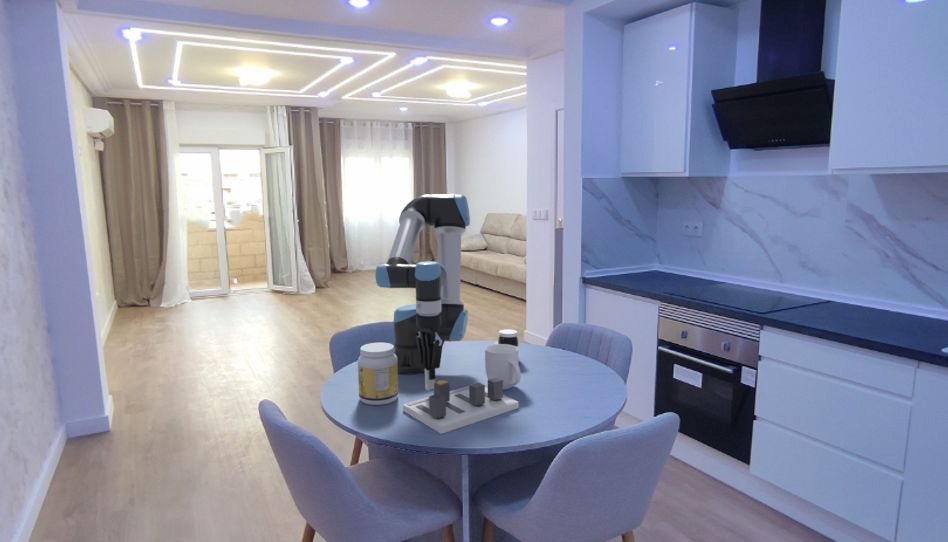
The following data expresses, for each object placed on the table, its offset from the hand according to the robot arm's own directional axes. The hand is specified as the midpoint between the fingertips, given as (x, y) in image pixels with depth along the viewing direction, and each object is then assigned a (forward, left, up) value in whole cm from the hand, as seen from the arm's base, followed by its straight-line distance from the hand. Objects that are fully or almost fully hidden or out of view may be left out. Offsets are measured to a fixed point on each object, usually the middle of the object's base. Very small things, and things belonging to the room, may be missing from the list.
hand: (430, 388), depth 169 cm
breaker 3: (+14, +7, -2) cm, 16 cm away
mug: (+4, +26, -5) cm, 27 cm away
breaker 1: (+6, 0, -2) cm, 7 cm away
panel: (+10, +4, -5) cm, 12 cm away
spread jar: (-18, +45, -5) cm, 49 cm away
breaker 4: (+14, +14, -2) cm, 20 cm away
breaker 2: (+14, -7, -2) cm, 16 cm away
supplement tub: (-13, -11, -5) cm, 17 cm away
